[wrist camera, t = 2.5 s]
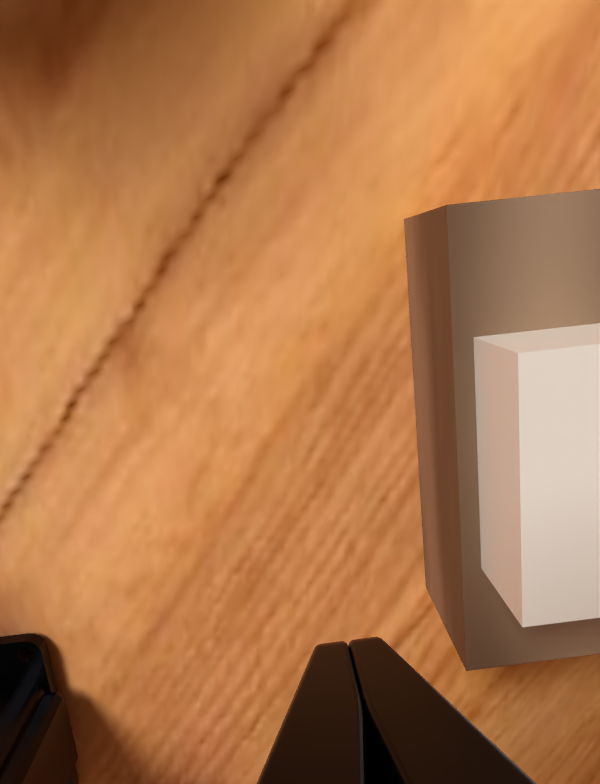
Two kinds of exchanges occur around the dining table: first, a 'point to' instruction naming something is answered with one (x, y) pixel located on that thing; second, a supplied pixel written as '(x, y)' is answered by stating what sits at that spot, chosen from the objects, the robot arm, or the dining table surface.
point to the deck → (457, 388)
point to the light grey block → (540, 470)
